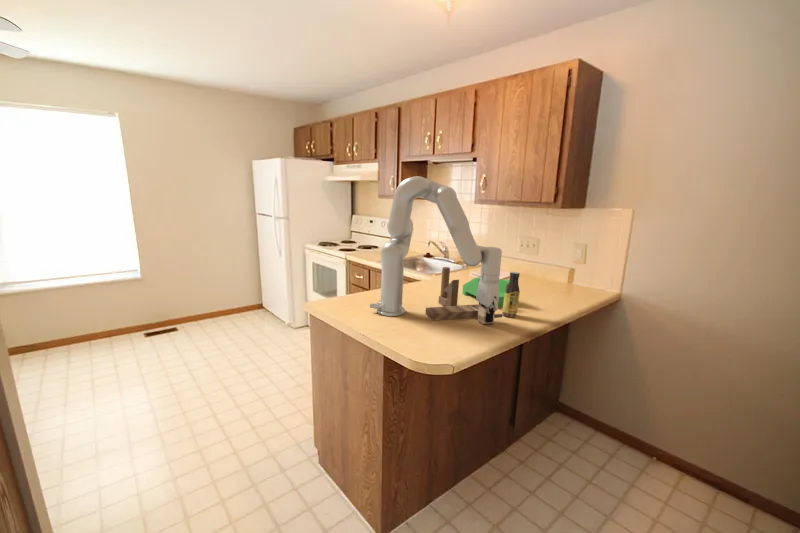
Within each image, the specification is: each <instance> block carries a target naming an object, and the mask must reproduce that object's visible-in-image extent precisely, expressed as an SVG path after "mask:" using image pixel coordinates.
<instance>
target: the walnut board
mask: <svg viewBox="0 0 800 533" xmlns="http://www.w3.org/2000/svg"><path fill="white" fill-rule="evenodd" d="M478 310H479V303H478V304H464V305H457V306H432V307H431V306H430V307H425V311H424V312H425V314H424V315H426V316H427V317H428V318H429V319H430V320H431V321H444V320H458V319H470V318H478Z"/></svg>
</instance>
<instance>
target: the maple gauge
mask: <svg viewBox="0 0 800 533" xmlns="http://www.w3.org/2000/svg"><path fill="white" fill-rule="evenodd" d="M491 308H492V307H490V309H491ZM486 313H487V307H486V306H482V307H479V310H478V317H477V321H478V322H479V323H481V324H483V325H490V324H494V323H495V318H498V319H499V318H502V317H503V314H502V313H497V314H495V313H496V312H495V313H494V315H493V322H485V321H486Z"/></svg>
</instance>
